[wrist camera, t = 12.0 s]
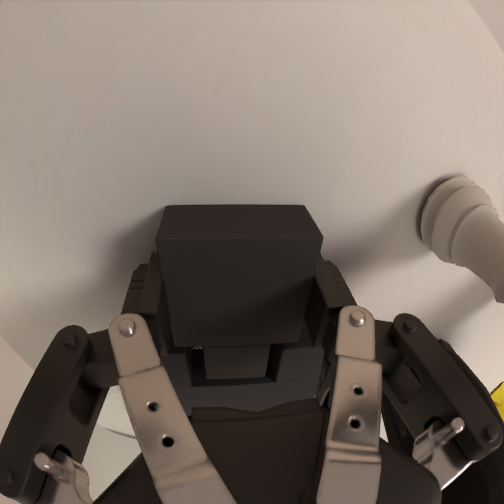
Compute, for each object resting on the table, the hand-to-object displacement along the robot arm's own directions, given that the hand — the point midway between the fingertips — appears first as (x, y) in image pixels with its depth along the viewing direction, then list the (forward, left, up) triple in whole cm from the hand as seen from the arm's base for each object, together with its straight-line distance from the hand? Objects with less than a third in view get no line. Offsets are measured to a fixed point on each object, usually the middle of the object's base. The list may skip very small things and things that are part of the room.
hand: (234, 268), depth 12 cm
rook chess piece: (+11, +3, -1) cm, 11 cm away
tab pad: (0, -1, -1) cm, 2 cm away
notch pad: (0, -8, 0) cm, 8 cm away
